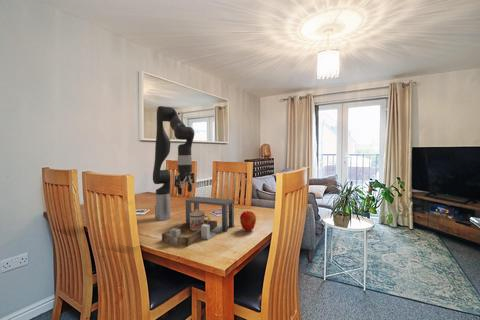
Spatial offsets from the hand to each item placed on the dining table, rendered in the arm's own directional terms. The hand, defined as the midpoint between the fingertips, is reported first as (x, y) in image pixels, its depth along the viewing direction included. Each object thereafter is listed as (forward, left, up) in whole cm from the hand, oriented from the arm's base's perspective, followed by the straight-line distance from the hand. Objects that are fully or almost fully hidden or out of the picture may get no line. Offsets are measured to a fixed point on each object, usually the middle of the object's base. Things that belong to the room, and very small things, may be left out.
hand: (184, 192), depth 128 cm
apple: (+30, +19, -23) cm, 42 cm away
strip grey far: (+13, +14, -23) cm, 30 cm away
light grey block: (+13, +2, -23) cm, 27 cm away
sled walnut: (+3, +1, -23) cm, 23 cm away
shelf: (+5, +17, -23) cm, 29 cm away
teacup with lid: (+2, +11, -23) cm, 26 cm away
